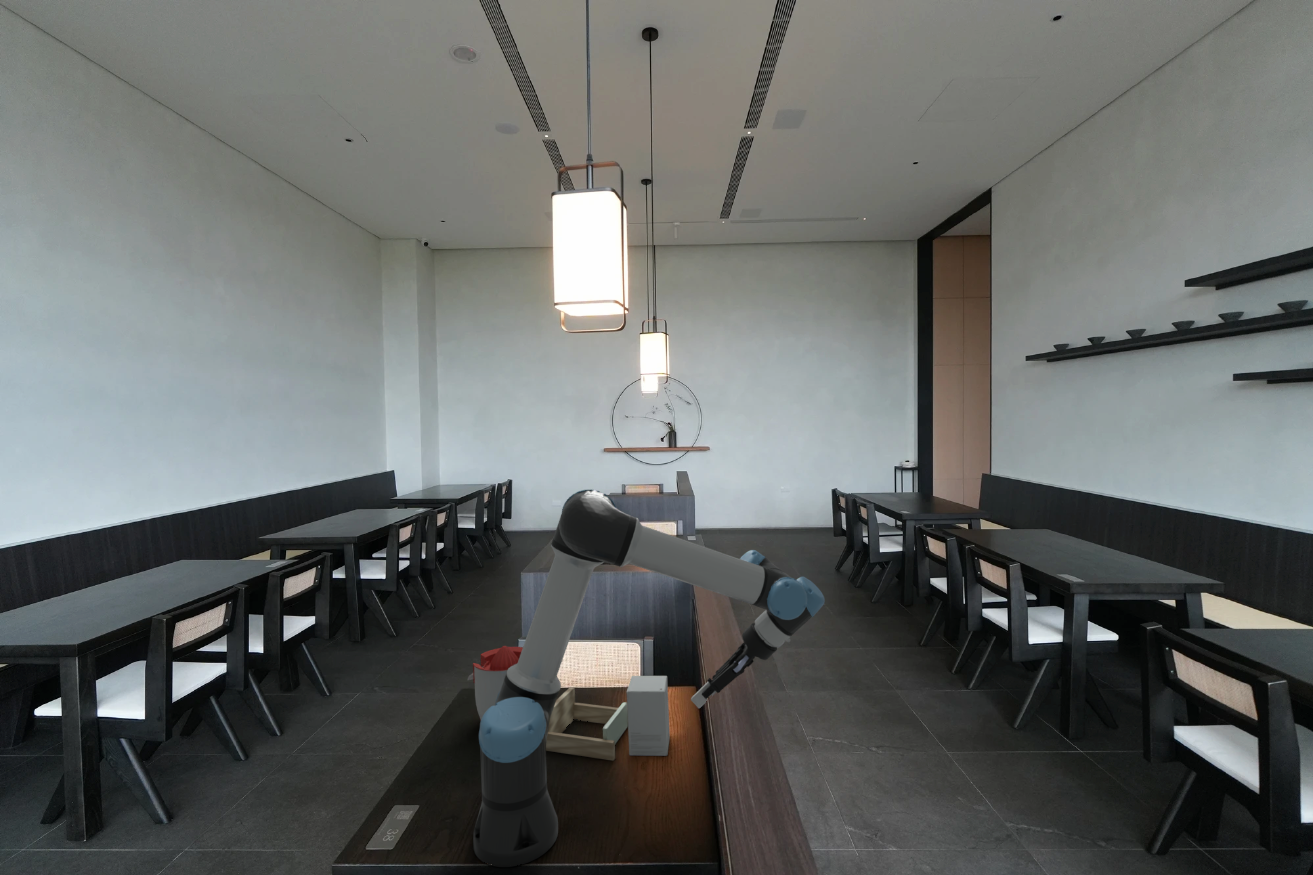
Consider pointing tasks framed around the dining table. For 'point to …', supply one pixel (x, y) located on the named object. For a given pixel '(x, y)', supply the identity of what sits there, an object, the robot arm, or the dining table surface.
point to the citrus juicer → (492, 675)
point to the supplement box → (648, 716)
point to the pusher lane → (575, 744)
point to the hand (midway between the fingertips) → (695, 702)
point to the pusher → (616, 724)
